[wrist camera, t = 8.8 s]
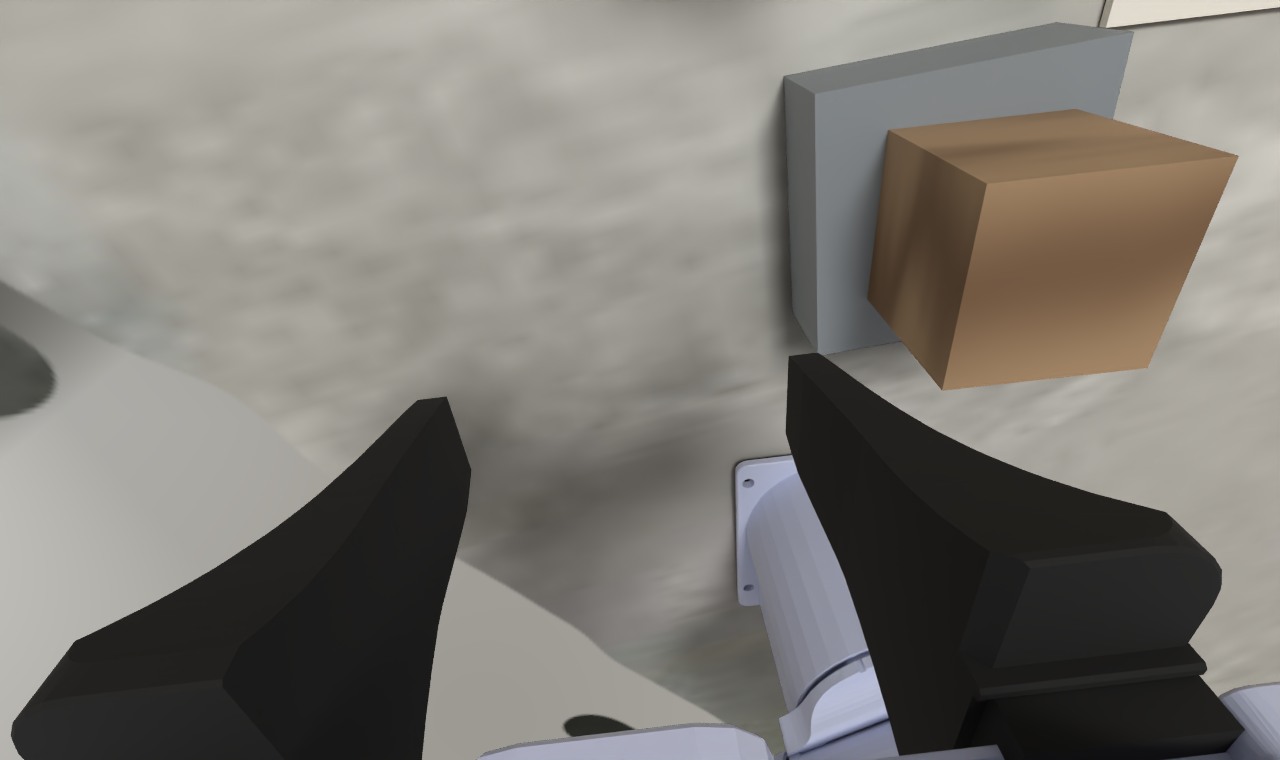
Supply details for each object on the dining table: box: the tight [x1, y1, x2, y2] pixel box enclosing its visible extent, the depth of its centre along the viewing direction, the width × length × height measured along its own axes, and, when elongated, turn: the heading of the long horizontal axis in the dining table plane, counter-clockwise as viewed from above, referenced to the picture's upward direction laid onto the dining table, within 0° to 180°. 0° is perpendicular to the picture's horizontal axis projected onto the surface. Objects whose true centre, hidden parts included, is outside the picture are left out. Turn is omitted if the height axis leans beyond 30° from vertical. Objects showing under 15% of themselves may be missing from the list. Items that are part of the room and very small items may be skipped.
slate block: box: [784, 22, 1134, 355], centre depth 19 cm, size 8×8×4 cm
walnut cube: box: [867, 109, 1239, 390], centre depth 16 cm, size 5×5×5 cm
